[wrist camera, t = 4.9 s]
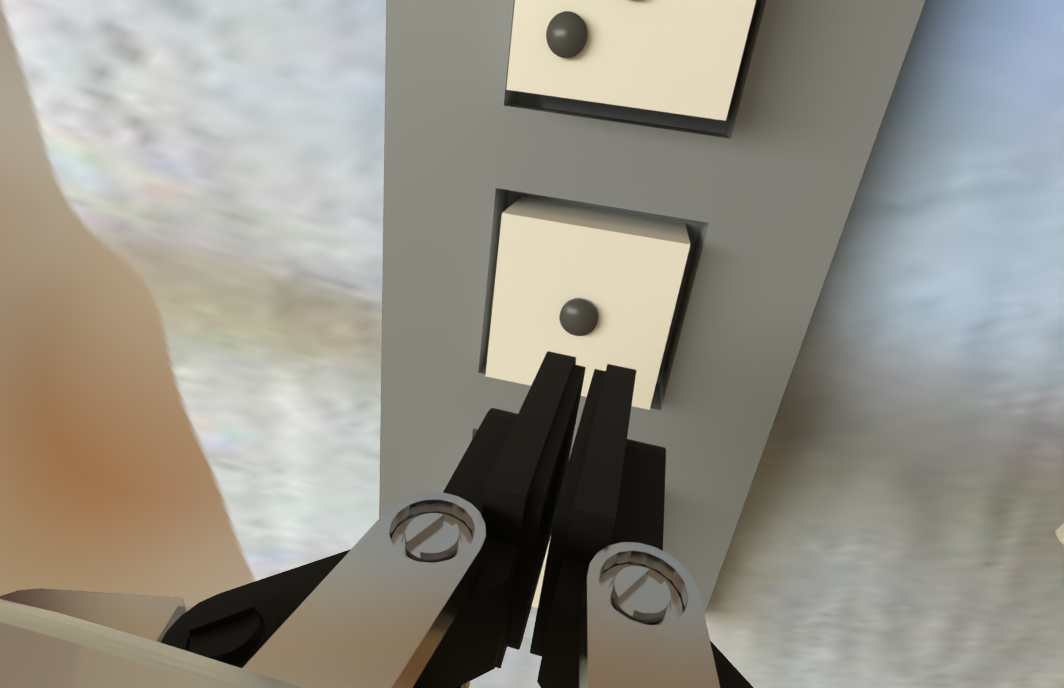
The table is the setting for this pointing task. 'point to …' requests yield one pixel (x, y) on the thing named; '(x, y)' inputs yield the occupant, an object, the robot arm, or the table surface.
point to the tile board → (635, 188)
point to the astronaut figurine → (1060, 534)
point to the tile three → (631, 52)
